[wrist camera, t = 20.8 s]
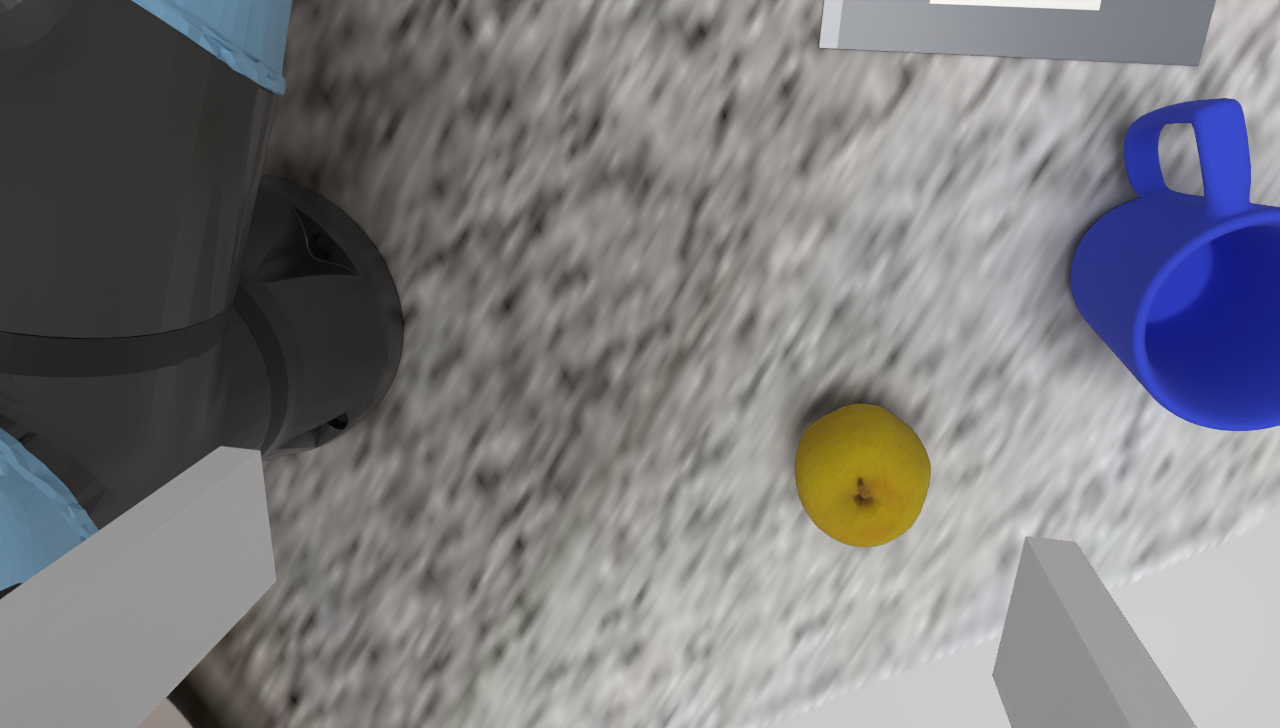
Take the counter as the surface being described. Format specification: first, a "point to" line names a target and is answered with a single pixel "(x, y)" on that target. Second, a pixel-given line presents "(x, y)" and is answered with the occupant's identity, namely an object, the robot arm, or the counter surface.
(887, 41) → the label panel
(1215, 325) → the mug
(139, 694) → the robot arm
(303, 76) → the counter surface
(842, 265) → the counter surface
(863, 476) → the apple
